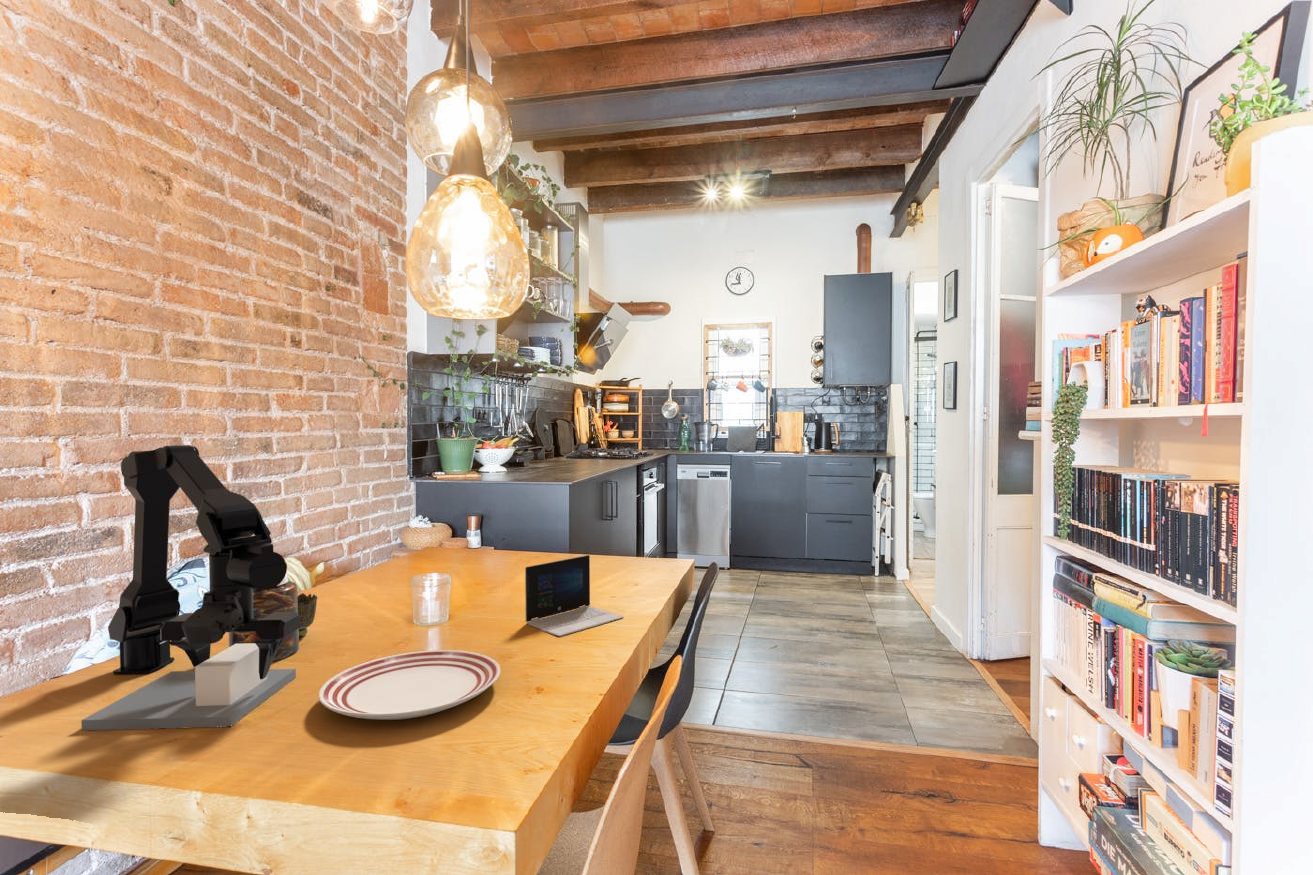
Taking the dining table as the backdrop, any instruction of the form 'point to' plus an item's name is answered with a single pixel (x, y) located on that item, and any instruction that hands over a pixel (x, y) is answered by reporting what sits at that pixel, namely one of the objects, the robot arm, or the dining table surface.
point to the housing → (227, 675)
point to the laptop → (562, 597)
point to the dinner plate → (409, 684)
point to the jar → (268, 603)
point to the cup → (306, 612)
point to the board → (181, 704)
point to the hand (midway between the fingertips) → (233, 679)
